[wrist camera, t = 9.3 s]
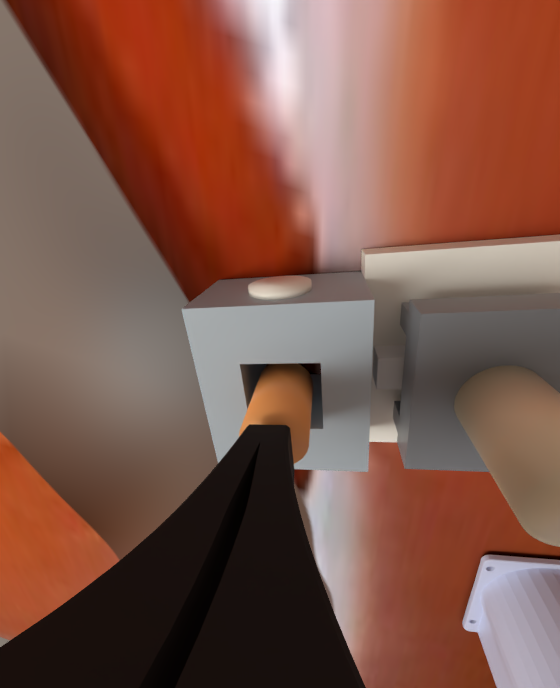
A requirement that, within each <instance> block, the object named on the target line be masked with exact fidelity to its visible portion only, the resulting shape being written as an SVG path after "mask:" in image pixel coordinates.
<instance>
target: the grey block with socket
mask: <svg viewBox="0 0 560 688" xmlns="http://www.w3.org/2000/svg"><path fill="white" fill-rule="evenodd" d="M374 303H375V300H374V297H373V295H372V293H371V291H370V289H369V287H368V285H367V283H366V280H365V278H364V276H363V274H362V272H361V271H355V272H339V273H323V274H307V275H291V276H275V277H259V278H243V279H227V280H218V281H217V282H216V283H214V284H213V285H212V286H211V287H209V288H208V289H207V290H205V291H204V292H203V293H202V294H200V295H199V296H198V297H196V298H195V299H194V300H192V301H191V302H190V303H189V304H187V305H186V306H185V307H184V308H182V313H183V318H184V321H185V326H186V330H187V334H188V338H189V342H190V347H191V351H192V355H193V360H194V364H195V368H196V372H197V376H198V380H199V384H200V389H201V393H202V397H203V401H204V405H205V410H206V413H207V418H208V422H209V427H210V431H211V434H212V439H213V443H214V447H215V452H216V456H217V460H218V463H219V462H220V461H221V459H222V458H223V457H224V456H225V455H226V453H227V452H228V451H229V449H230V448H231V447H232V446H233V444H234V443H235V442H236V440H237V439H238V438H239V432H240V428H241V426H242V423H243V420H244V417H245V415H246V412H247V409H248V407H249V404H250V401H251V399H252V396H253V393H254V391H255V388H256V385H257V382H258V380H259V377H260V375H261V372H262V371H263V369H264V368H265V367H266V366H267V365H266V364H286V363H321V374H310V375H311V377H312V380H313V395H312V410H311V424H310V438H309V448H308V451H307V453H306V455H305V456H304V457H303V458H302V459H301V460H300V461H298V462H297V463H295V464H294V469H308V470H333V471H357V472H368V459H369V433H370V407H371V381H372V355H373V329H374Z"/></svg>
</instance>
